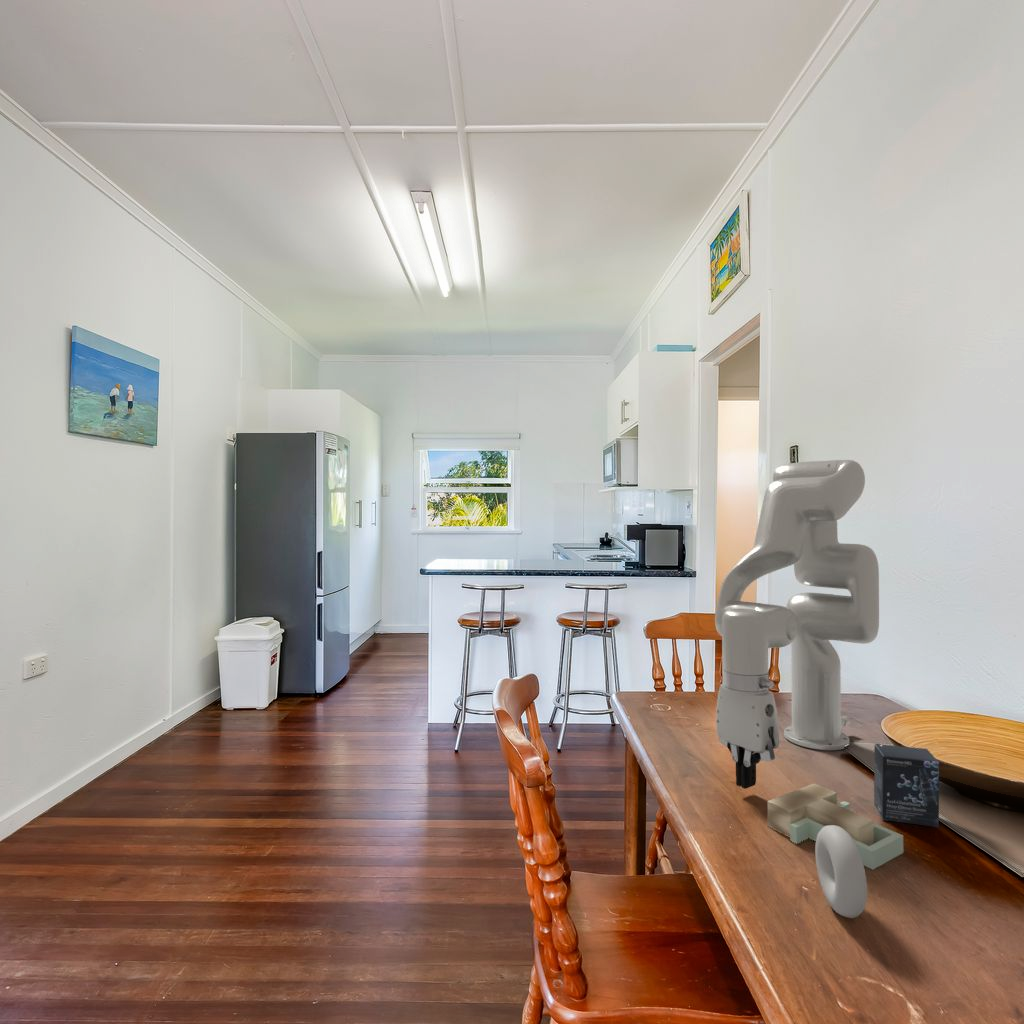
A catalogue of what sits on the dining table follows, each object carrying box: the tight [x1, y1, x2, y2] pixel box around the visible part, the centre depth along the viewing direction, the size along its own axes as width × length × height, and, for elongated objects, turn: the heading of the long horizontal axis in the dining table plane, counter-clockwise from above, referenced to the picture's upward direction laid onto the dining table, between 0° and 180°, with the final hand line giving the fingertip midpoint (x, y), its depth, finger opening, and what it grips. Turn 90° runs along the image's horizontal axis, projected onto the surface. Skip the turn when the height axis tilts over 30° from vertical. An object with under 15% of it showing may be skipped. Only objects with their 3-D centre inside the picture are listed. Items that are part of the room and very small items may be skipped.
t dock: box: [789, 800, 904, 870], centre depth 91 cm, size 14×10×2 cm
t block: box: [767, 783, 875, 846], centre depth 94 cm, size 12×12×4 cm
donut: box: [814, 825, 868, 919], centre depth 76 cm, size 10×4×10 cm, turn 172°
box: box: [873, 743, 940, 828], centre depth 99 cm, size 8×6×11 cm
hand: (745, 785), depth 107 cm, fingers closed
